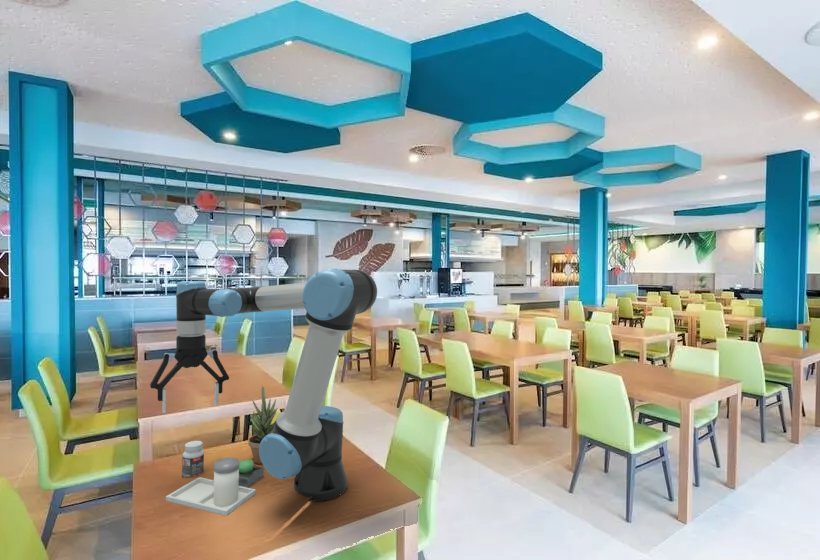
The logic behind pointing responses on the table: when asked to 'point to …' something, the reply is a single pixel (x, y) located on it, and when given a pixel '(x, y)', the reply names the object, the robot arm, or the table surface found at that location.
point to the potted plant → (261, 426)
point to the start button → (245, 466)
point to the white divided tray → (206, 496)
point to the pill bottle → (193, 459)
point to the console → (250, 476)
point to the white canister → (226, 481)
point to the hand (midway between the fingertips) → (190, 408)
